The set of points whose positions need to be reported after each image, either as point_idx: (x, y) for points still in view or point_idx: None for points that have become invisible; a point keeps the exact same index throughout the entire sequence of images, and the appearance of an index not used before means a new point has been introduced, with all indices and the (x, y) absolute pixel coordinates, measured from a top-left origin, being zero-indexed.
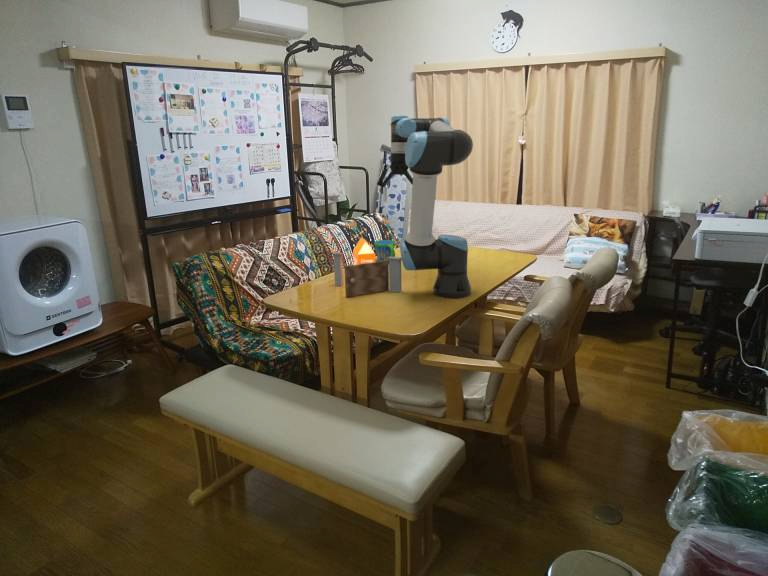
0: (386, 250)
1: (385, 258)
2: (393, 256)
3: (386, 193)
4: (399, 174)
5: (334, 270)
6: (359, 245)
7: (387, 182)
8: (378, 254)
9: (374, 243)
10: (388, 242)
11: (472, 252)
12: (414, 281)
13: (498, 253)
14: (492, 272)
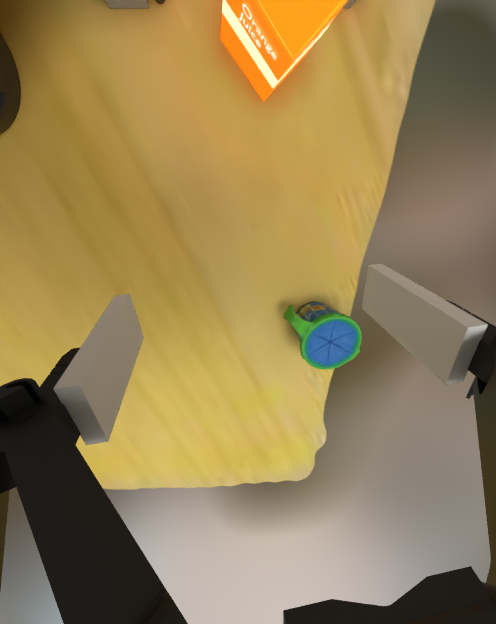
0: (312, 316)
1: (308, 307)
2: (286, 311)
3: (402, 335)
4: (356, 605)
5: None
6: None
7: (484, 413)
8: (330, 308)
9: (358, 325)
10: (324, 354)
11: (163, 460)
12: (142, 159)
13: (108, 474)
14: (12, 338)
